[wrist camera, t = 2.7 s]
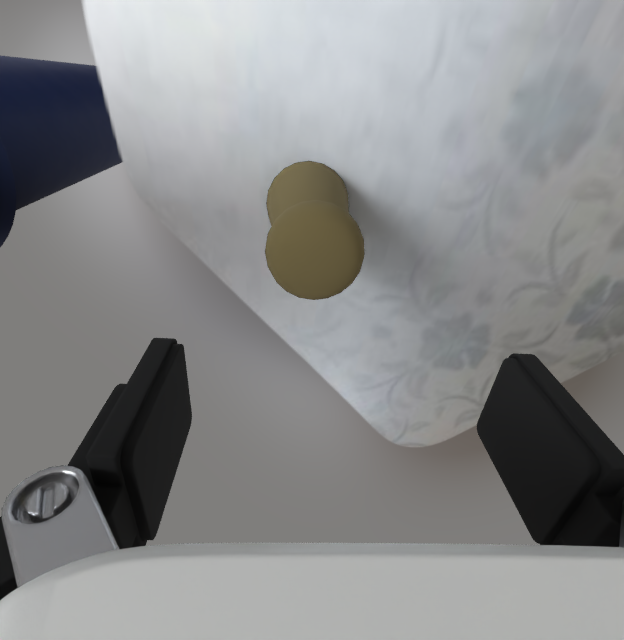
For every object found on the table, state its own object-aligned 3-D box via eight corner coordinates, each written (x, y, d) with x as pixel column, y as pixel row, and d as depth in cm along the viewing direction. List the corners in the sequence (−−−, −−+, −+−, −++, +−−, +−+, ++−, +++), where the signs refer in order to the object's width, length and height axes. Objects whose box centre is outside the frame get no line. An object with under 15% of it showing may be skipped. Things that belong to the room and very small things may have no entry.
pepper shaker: (281, 147, 26) (276, 182, 17) (362, 179, 27) (399, 227, 18) (256, 229, 29) (240, 298, 19) (330, 254, 30) (348, 330, 21)
